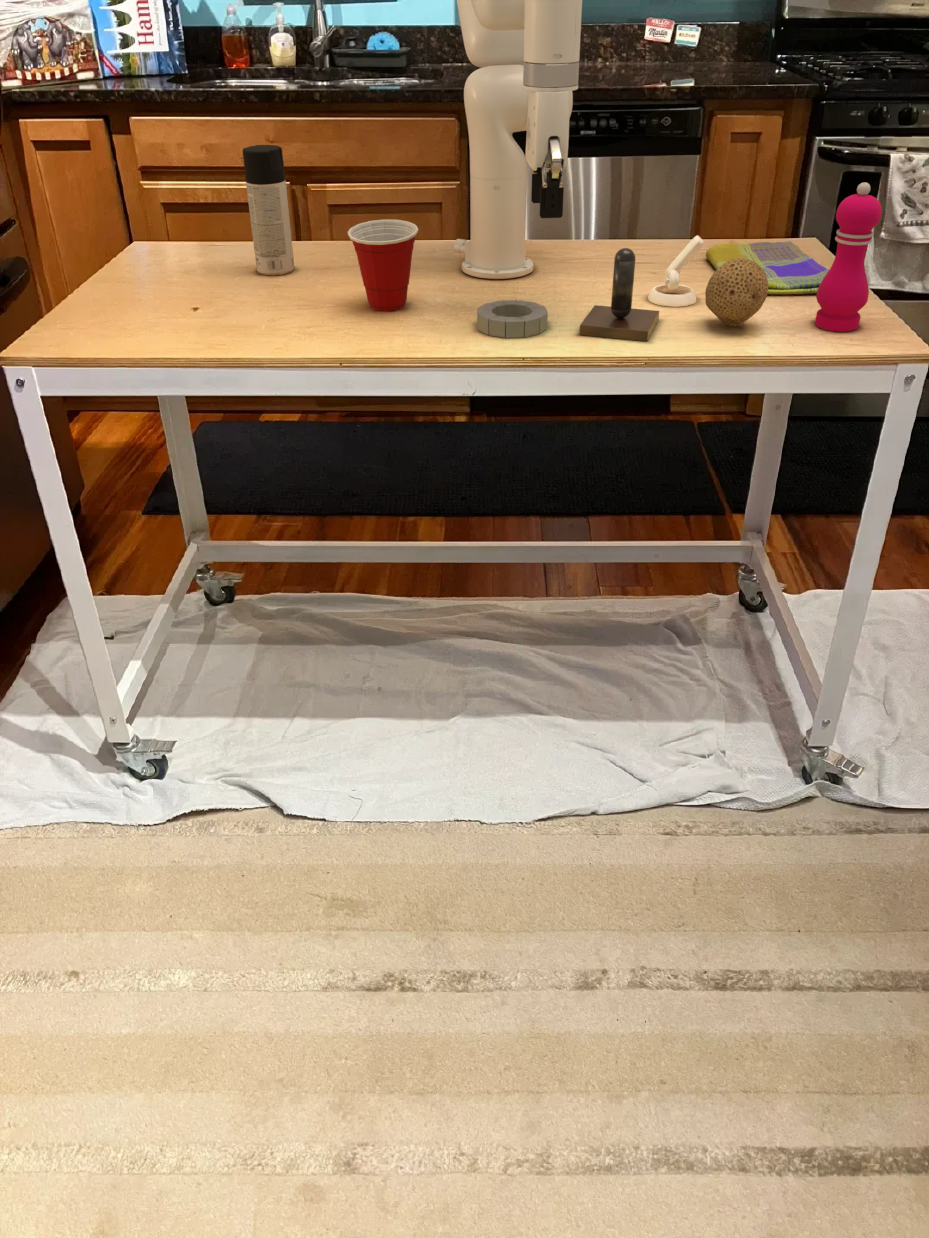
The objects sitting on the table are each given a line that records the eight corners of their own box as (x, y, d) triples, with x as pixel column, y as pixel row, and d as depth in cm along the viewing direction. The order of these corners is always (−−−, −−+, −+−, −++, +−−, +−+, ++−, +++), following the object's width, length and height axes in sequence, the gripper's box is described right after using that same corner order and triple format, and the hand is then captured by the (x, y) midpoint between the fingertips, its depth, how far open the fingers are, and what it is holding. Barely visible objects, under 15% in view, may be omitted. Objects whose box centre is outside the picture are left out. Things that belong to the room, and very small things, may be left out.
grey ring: (465, 331, 150) (465, 315, 149) (495, 312, 158) (495, 296, 157) (529, 342, 146) (529, 325, 145) (557, 321, 154) (557, 305, 153)
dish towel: (734, 297, 163) (737, 279, 162) (702, 257, 184) (704, 241, 182) (842, 295, 164) (845, 277, 162) (798, 255, 184) (801, 239, 182)
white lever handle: (735, 273, 156) (704, 249, 153) (681, 332, 163) (650, 310, 159) (722, 250, 161) (692, 227, 158) (670, 308, 168) (640, 286, 165)
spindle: (579, 335, 149) (583, 254, 142) (593, 314, 157) (598, 237, 150) (647, 341, 146) (654, 260, 140) (658, 320, 154) (666, 242, 147)
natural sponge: (760, 339, 146) (771, 269, 141) (698, 334, 149) (706, 265, 143) (762, 320, 154) (773, 252, 148) (703, 315, 156) (711, 248, 150)
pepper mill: (854, 336, 147) (885, 190, 136) (805, 328, 150) (831, 184, 139) (867, 322, 152) (898, 180, 141) (819, 315, 155) (845, 175, 144)
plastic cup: (341, 313, 158) (334, 233, 152) (369, 293, 167) (365, 217, 160) (405, 320, 155) (401, 239, 148) (431, 300, 164) (428, 222, 157)
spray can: (302, 269, 179) (290, 146, 168) (277, 278, 175) (263, 152, 163) (274, 264, 182) (260, 143, 171) (248, 273, 178) (232, 149, 166)
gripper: (516, 70, 144) (514, 198, 154) (530, 85, 130) (527, 224, 140) (568, 70, 145) (563, 197, 154) (588, 84, 130) (581, 223, 140)
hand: (546, 210), depth 147 cm, fingers open, 9 cm apart
